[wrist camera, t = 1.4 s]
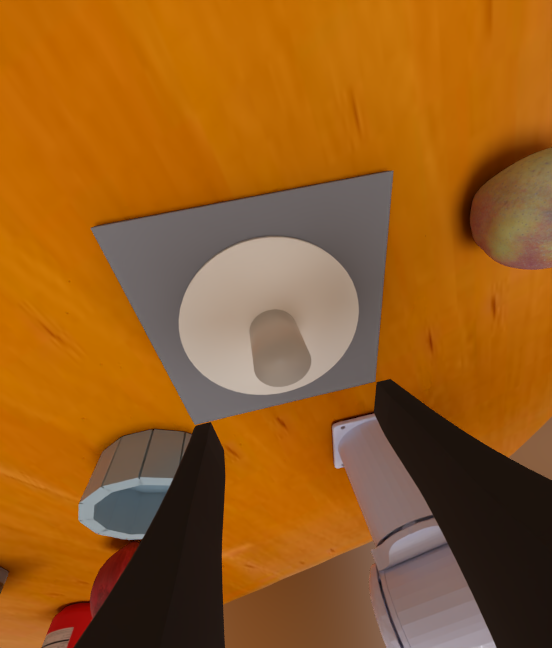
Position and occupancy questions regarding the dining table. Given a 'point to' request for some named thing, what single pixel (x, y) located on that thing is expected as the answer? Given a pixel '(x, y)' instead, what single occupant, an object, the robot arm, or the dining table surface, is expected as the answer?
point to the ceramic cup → (3, 577)
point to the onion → (110, 575)
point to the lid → (268, 315)
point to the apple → (517, 214)
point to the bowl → (131, 482)
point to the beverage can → (68, 626)
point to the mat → (239, 225)
